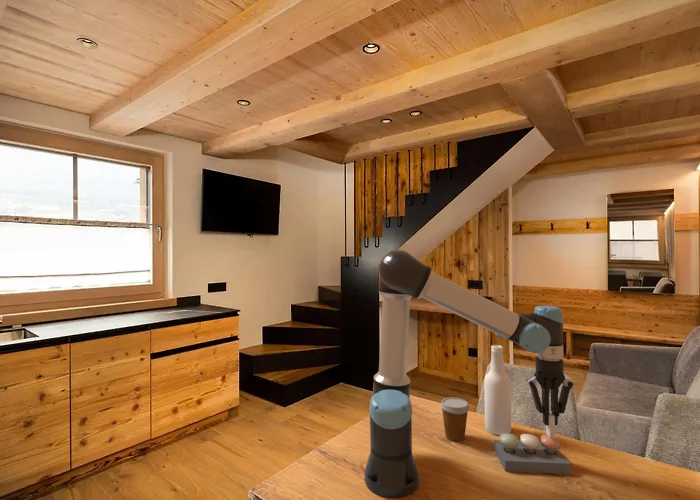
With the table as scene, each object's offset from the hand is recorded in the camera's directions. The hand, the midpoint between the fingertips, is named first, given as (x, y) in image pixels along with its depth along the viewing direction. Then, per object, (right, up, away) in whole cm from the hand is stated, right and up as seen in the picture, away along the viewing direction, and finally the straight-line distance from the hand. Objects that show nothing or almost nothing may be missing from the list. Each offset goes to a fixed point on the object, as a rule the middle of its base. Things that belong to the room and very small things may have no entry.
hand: (550, 435), depth 114 cm
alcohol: (-8, -8, +20) cm, 23 cm away
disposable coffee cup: (-25, -9, +16) cm, 30 cm away
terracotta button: (0, -6, 0) cm, 6 cm away
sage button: (-12, -6, +1) cm, 14 cm away
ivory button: (-6, -6, +1) cm, 9 cm away
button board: (-6, -8, +1) cm, 10 cm away
